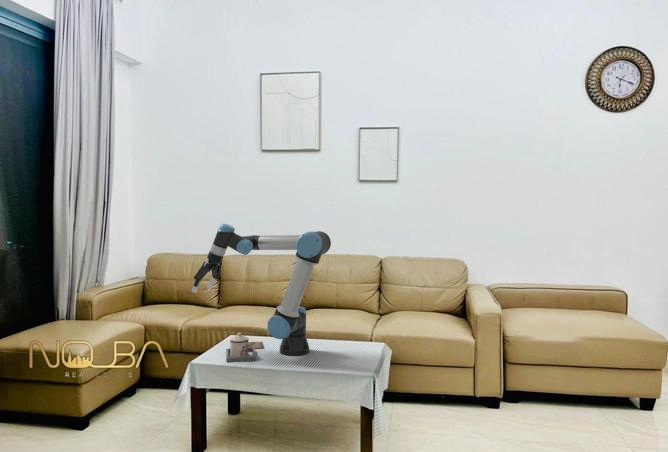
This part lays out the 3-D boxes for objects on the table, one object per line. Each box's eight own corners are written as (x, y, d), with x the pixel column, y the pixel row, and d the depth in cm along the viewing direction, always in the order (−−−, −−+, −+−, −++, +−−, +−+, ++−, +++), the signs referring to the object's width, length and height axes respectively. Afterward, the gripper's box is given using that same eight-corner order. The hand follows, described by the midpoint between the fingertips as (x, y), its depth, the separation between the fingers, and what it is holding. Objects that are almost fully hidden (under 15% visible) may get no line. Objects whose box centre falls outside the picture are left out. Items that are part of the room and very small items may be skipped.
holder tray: (254, 350, 256) (254, 347, 256) (256, 360, 240) (256, 356, 240) (226, 352, 253) (226, 348, 253) (226, 362, 237) (226, 358, 237)
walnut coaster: (262, 342, 273) (262, 341, 272) (263, 348, 261) (263, 347, 261) (239, 343, 270) (239, 342, 270) (240, 349, 258) (240, 348, 258)
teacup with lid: (242, 360, 239) (242, 336, 239) (226, 358, 242) (226, 334, 242) (254, 353, 251) (254, 330, 250) (238, 352, 254) (238, 329, 253)
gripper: (223, 249, 266) (209, 285, 269) (196, 250, 243) (181, 289, 245) (235, 255, 264) (220, 291, 267) (208, 257, 240) (192, 296, 243)
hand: (201, 290), depth 256 cm, fingers open, 13 cm apart
